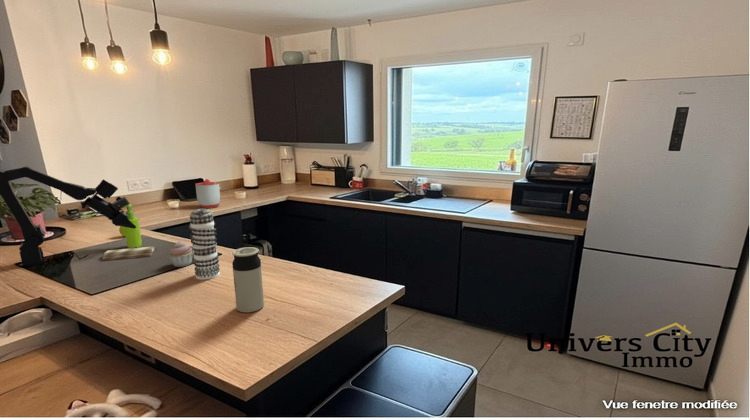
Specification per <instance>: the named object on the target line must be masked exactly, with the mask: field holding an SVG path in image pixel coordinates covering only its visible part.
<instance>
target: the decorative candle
mask: <svg viewBox="0 0 750 420" xmlns="http://www.w3.org/2000/svg"><path fill="white" fill-rule="evenodd" d="M213 214H214V212H213V211H211V209H210V208H196V209H193V210H192V211H191V213H190V214H188V216H189V221H190V223H189V226H188V230H189V231H188V232H189V238H190V243H191V244H192V245H191V248H192V249H193V252H194V254H193V258H192V259H193V260H192V261H193V262H194V263H193V264H194V275H195V278H196V279H197V280H200V281H201V280H204V281H205V280H212V279H214V278H218V277H219V276H220V275H221V272H220V271H221V270H220V264H219V262H220V260H219V255H218V251H217V244H218V242H217V241H218V238H217V237H216V236H217V235H218V233H217V232H216V231H217V230H218V229H217V228H216V227H214V226H216V225H217V223H216V222H215V221H214V216H213Z"/></svg>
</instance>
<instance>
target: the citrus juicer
mask: <svg viewBox="0 0 750 420" xmlns="http://www.w3.org/2000/svg"><path fill="white" fill-rule="evenodd" d="M194 184H195V193H196V199H197V202H198V205H199V207H200V209H211V208H217V207H219V205H220V202H221V191H220V190H221V189H222V187H221V186H220V182H217V183H215V182H214V181H210V180H209V179H208V178H206V179H205V180H204V181H202V182H198V183H197V182H196V183H194Z"/></svg>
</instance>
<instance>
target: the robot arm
mask: <svg viewBox="0 0 750 420" xmlns="http://www.w3.org/2000/svg"><path fill="white" fill-rule="evenodd" d="M23 178H28V179H29V180H31V181H35V182H38V183H40V184H43V185H46V186H49V187H50V188H53V189H56V190H59V191H60V192H62V193H64V194H65V195H66V196H69V197H70V198H72V199H74V200H77V201H80V203H79V204H81V209H85V208H86V207H89V208H90V209H92V210H93V211H95V212H96V213H98V214H100V216H101V215H102V216H104V217H105V218H107V219H108V220H109V221H111V224H112V225H114V226H116V227H120V226H122V227H128V228H133V229H135V228H136V226H135V225H134V224H133V223H132V222H131V221H129V220H128V217H127V214H126V212H125V210H123V208H122V207H124V206H126V205H129V204H131V203H130V201H128V199H127V198H126V197H125V196H123V197H121V196H117V197H115V201H113V202H111V201H107V200H105V199H107V198H108V199H110V198H112V196H113V195H114V194H115V193H116V192H117V191H118V189H119V187H117V186H115V184H112V183H111V182H109V181H107V180H105V179H102V180H100V183H99V184H98V185H97V186H96V187H85V186H83V185H80V184H76V183H72V182H66V181H63V180H60V179H58V178H55V177H53V176H51V175H48V174H46V173H43V172H41V171H38V170H36V169H33V168H32V167H30V166H28V165H27V166H26V165H25V166H22V167H19V168H13V169H8V170H2V169H0V196H1V198H2V200H3V201H4V203H5V204H6V206H7V208H9V209H8V210H9V211H10V212H11V214H12V215H13V217H14V219H15V221H17V223H18V225H19V227H20V230H21V234H22V237H23V241H22V242H21V243H20V246H19V248H18V250H19V256H20V260H21V263H20V264H18V266H19V267H35V266H37V265H41V264H44V263H46V262H48V259H45V256H44V252H43V250H42V247H41V245H42V244H43V243H44V242H45V236H46V232H45V231H44V229H43V228H42V225H41V224H40V223H39V224H37V225H36V224H35V223H34V222H33V221H32V219H31V218H30V217H29V216H30V215H28V212H27V211H26V209H25V208H24V206H23V204H22V203H21V202H20V200H19V198H18V196H17V194H16V192H15V191H14V188H13V185H12V184H13V183H12V181H15V180H19V179H23ZM124 208H125V207H124Z"/></svg>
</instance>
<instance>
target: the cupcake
mask: <svg viewBox="0 0 750 420" xmlns="http://www.w3.org/2000/svg"><path fill="white" fill-rule="evenodd" d="M168 257H169V258H170V260H171V262H172V264H173V266H174V267H176V268H184V267H188V266H191V264H192V261H193V260H192V259H193V257H194V250H193V248H192V246H190V245H189V244H188V243H184V242H183V241H182V240H179V241H176V243H174V244H173V247H172V248H171V249H170V253H169V254H168Z"/></svg>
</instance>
